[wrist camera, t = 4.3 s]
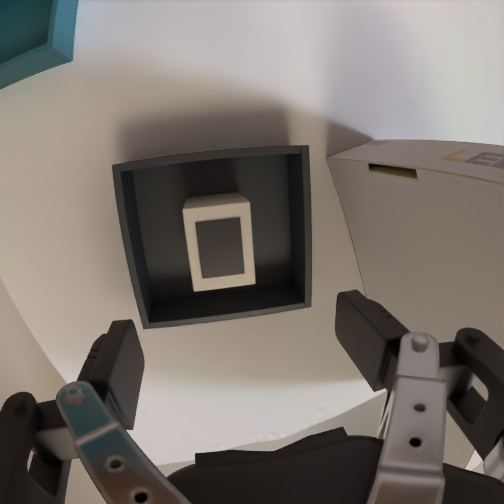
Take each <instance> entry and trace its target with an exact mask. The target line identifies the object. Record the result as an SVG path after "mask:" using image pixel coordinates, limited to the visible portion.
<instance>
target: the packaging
mask: <svg viewBox="0 0 504 504" xmlns="http://www.w3.org/2000/svg"><path fill="white" fill-rule="evenodd" d="M326 160H327V161H328V164H329V167H330V170H331V173H332V176H333V179H334V182H335V185H336V188H337V191H338V194H339V198H340V201H341V204H342V207H343V211H344V214H345V217H346V221H347V224H348V227H349V231H350V234H351V238H352V242H353V245H354V249H355V253H356V257H357V260H358V264H359V268H360V272H361V276H362V280H363V285H364V289H365V293H366V297H367V299H371V300H373V301H375V302H378V303H380V304H381V305H382V306H383V307H384V308H385V309H387V312H388V311H389V312H390V313H391V314H392V315H393V317H395V318H396V319H397V320H398V321H400V322H401V323H402V324H403V325H404V326H405V327H406V328H407V329H408V330H409V331H410V332H424V333H427V334H429V335H431V336H433V337H434V338H435V339H436V340H437V341H438V343H442V342H451V341H454V339H455V336H456V333H457V331H458V330H460V329H462V328H466V327H470V328H475V329H478V330H480V331H482V332H484V333H485V334H486V335H487V336H488V337H490V338H491V339H492V340H493V341H494V342H495V343H496V344H498V345H499V346H500V347H501V348H502V349H503V350H504V146H501V145H492V144H482V143H470V142H456V141H436V140H374V141H371V142H368V143H365V144H363V145H360V146H357V147H354V148H352V149H349V150H346V151H343V152H341V153H338V154H335V155H333V156H330V157H327V159H326ZM472 386H473V387H474V388H475V389H476V390H477V391H478V392H479V394H480V395H481V396H482V397H483V398H484V399H485V400H486V401H487V399H488V390H487V388H486V386H485V385H484V384H483V383H482V382H481V381H480V380H479V379H478V378H477V376H475V378H474V380H473V383H472ZM443 461H444V462H445V463H447V464H450V465H453V466H457V467H460V468H463V469H466V470H472V469H473V468H474V467H475V466H477V465H478V464H479V463H480V462H481V461H483V460H482V459H481V457H480V456H479V455H478V453H477V452H476V450H475V449H474V447H473V446H472V445H471V443H470V442H469V440H468V439H467V438H466V436H465V435H464V433H463V432H462V431H461V429H460V428H459V426H458V425H457V424H456V422H455V421H454V420H453V418H452V417H451V416H450V414H449V413H448V412H447V410H446V431H445V446H444V457H443Z"/></svg>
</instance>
